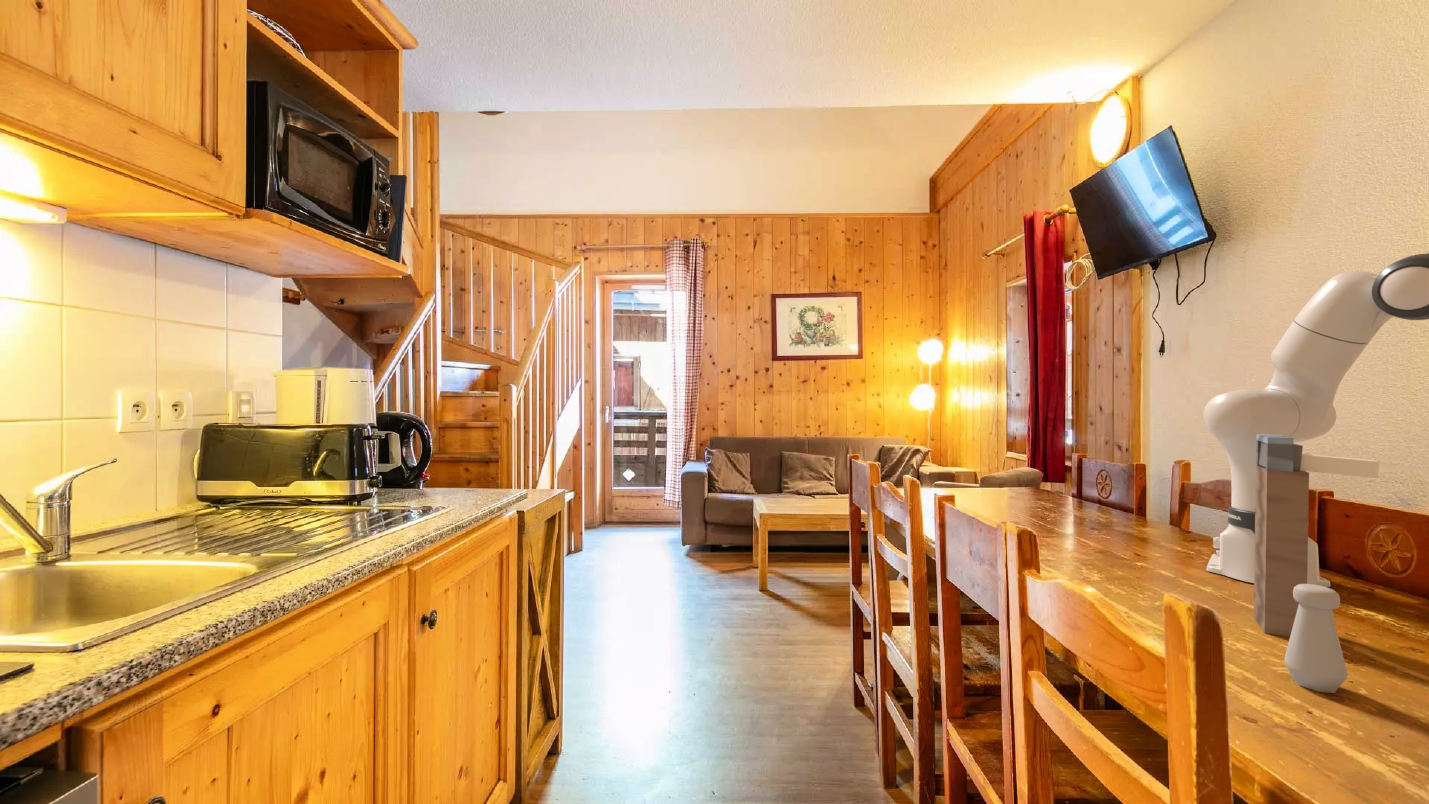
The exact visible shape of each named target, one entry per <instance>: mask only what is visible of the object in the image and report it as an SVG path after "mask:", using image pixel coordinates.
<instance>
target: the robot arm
mask: <svg viewBox="0 0 1429 804" xmlns="http://www.w3.org/2000/svg"><path fill="white" fill-rule="evenodd" d="M1392 318H1397V319H1402V320H1407V321H1408V320H1409V321H1424V320H1429V252H1427V253H1418V254H1413V255H1410V256H1406V257H1404V258H1401V259H1399V260H1396V261H1395V262H1392V263H1391V264H1389V265H1388V266H1386V267H1385V268H1384V269H1382V271H1381V272H1379V274H1376V273H1373V272H1367V271H1358V270H1357V271H1345V272H1341V273H1339V274H1336V275H1334V276H1332V277H1330V279H1328V280H1327V281H1326V282H1325V283H1324V284H1323V285H1322V286H1321V287H1320V288H1319V289H1318V290H1317V291H1316V292H1315V293H1313V295H1312V296H1311V297H1310V299H1309V300H1308V301H1307V302H1306V304H1305V305H1303V307H1302V309H1301V310H1300V311H1299V312H1298V314H1297V315H1296V316H1295V318H1294V319H1293V321H1292V322H1291V324H1290V325H1289V327H1288V328H1287V330H1286V331H1285V332H1284V334H1283V335H1282V337H1281V338H1280V339H1279V341H1278V342H1277V344H1276V346H1275V347H1274V348H1273V350H1272V352H1271V354H1270V360H1271V364H1272V365H1273V366H1274V371H1273V375H1272V378H1271V380H1270V382H1269V384H1268V385H1267V386H1266V387H1264V388H1263V389H1261V388H1260V389H1259V388H1256V389H1254V388H1253V389H1250V388H1249V389H1247V388H1242V389H1236V390H1231V391H1227V392H1225V393H1221V394H1218V395H1216V396H1213V397H1212V398H1211V399H1210V400H1209V401H1208V402H1207V404H1205V407H1204V409H1203V414H1202V415H1203V416H1202V419H1203V423H1204V425H1205V427H1206V429H1207V431H1208V432H1210V434H1211V435H1212V436H1214V437H1215V438H1216V439H1217V441H1219V443H1220V445H1221V446H1222V449H1223V451H1224V454H1225V455H1226V458H1227V461H1228V464H1229V469H1230V483H1231V484H1230V485H1231V486H1230V487H1231V489H1230V490H1231V491H1230V492H1231V493H1230V494H1231V496H1230V497H1231V498H1230V499H1231V500H1230V501H1231V505H1230V506H1229V507H1228V511H1227V522H1228V525H1227V527H1226V528H1225V530H1223V531H1222V532H1221V533H1219V535H1220V536H1216V537H1215V536H1214V537H1212V538H1213V539H1212V547H1213V548H1214V549H1217V550H1215V553H1213V554H1211V556H1210V558H1209V560H1208V563H1207V566H1206V569H1205V570H1206V571H1207V572H1211V573H1214V574H1218V575H1223V576H1226V577H1229V578H1232V579H1236V580H1239V581H1242V582H1246V583H1251V584H1254V562H1255V498H1256V434H1270V435H1283V436H1288V437H1292V438H1294V443H1299V442H1300V443H1301V442H1304V441H1305V442H1306V441H1308V440H1309V441H1310V440H1312V439H1316V438H1318V437H1321V436H1324V435H1326V434H1327V433H1328V432H1330V431H1331V430H1332V428H1333V427H1334V425H1335V423H1336V420H1337V411H1336V408H1335V406H1334V400H1335V398H1336V394H1337V392H1338V389H1339V385H1340V384H1341V382H1342V380H1343V379H1344V377H1345V375H1346V374H1347V372H1349V370H1350V368H1351V367H1352V366H1353V364H1354V363H1355V362H1356V360H1357V359H1358V358H1359V357H1360V355H1361V353H1363V351H1364V350H1365V349H1366V347H1367V346H1368V345H1369V343H1370V342H1371V341H1372V340H1373V338H1374V337H1375V336H1376V334H1377V333H1378V331H1379V330H1380V329H1381V328H1382V327H1383V326H1384V325H1385V324H1386V323H1387V322H1388V321H1389V320H1391V319H1392ZM1308 525H1309V522H1308ZM1218 549H1219V550H1218ZM1319 559H1320V558H1319V547H1318V543H1317V542H1316V541H1315V540H1314V539H1312V538H1310V537H1309V536H1308V565H1307V584H1314V585H1320V586H1324V587H1327V588H1330V587H1331V581H1330V580H1329V579H1326V578H1324V577H1322V576H1320V563H1319V561H1320V560H1319Z"/></svg>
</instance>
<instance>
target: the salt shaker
mask: <svg viewBox="0 0 1429 804" xmlns="http://www.w3.org/2000/svg"><path fill="white" fill-rule="evenodd" d="M1293 597H1294V599H1295V601H1297V602H1299V605H1298V609H1297V613H1296V617H1295V620H1294V624H1293V628H1292V632H1291V635H1290V637H1289V639H1288V644H1287V647H1286V651H1285V655H1284V658H1283V659H1284V665H1285V666H1286V668H1287V669H1286V670H1287V671H1288V673H1289V674H1290V677H1291V679H1292V680H1293V681H1294V682H1295V684H1297V685H1298V686H1300V687H1302V688H1305V689H1309V690H1312V691H1314V692H1319V693H1329V694H1331V693H1332V694H1335V693H1336V692H1337V691H1338V689H1339V687H1341V685H1342V684H1343V683H1344V682H1345V681H1347V679H1348V669H1347V666H1346V662H1345V659H1344V654H1343V649H1342V647H1341V646H1342V645H1341V643H1340V638H1339V635H1338V630H1337V627H1336V625H1337V624H1336V621H1335V617H1334V613H1333V610H1336V609H1339V607H1340V605H1341V598H1340V597H1341V596H1340V595H1339V593H1338V592H1337V591H1335V590H1334V589H1332V588H1330V587H1324V586H1320V585H1314V584H1299V585H1297V586H1295V587H1294V589H1293Z"/></svg>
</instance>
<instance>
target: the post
mask: <svg viewBox="0 0 1429 804" xmlns="http://www.w3.org/2000/svg"><path fill="white" fill-rule="evenodd" d="M1261 442H1265V443H1266V467H1264V466H1261V465H1259V459H1260V449H1261ZM1294 443H1295V442H1294V438H1292V437H1288V436H1283V435H1270V434H1256V498H1255V562H1254V583H1253V618H1254V620H1255V621H1256V623H1257V624H1258V625H1259V627H1260V628H1261V629H1262V631H1263V633H1265V634H1267V635H1268V634H1269V635H1275V636H1281V637H1287V638H1290V635H1291V632H1292V628H1293V624H1294V620H1295V617H1296V613H1297V609H1298V605H1299V602H1297V601H1295V599H1294V597H1293V589H1294V587H1295V586H1297V585H1299V584H1307V565H1308V537H1309V524H1308V523H1309V504H1310V503H1309V501H1310V500H1309V499H1310V498H1309V497H1310V488H1309V487H1310V471H1301V470H1300V471H1295V470H1293V447H1294Z"/></svg>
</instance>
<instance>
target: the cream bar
mask: <svg viewBox="0 0 1429 804" xmlns="http://www.w3.org/2000/svg"><path fill="white" fill-rule="evenodd" d="M1303 449H1304V446H1303V445H1301V444H1298V443H1296V442H1294V447H1293V470H1295V471H1300V470H1301V471H1306V472H1312V473H1322V474H1332V475H1333V474H1334V475H1342V476H1343V475H1344V476H1352V477H1361V478H1362V477H1363V478H1372V479H1378V478H1379V469H1380V461H1377V460H1374V459H1368V458H1367V459H1366V458H1365V459H1364V458H1357V457H1355V458H1354V457H1342V456H1332V455H1323V454H1322V455H1320V454H1310V453H1309V454H1308V453H1303ZM1259 465H1261V466H1264V467H1266V443H1265V442H1261V449H1260V459H1259Z"/></svg>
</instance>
